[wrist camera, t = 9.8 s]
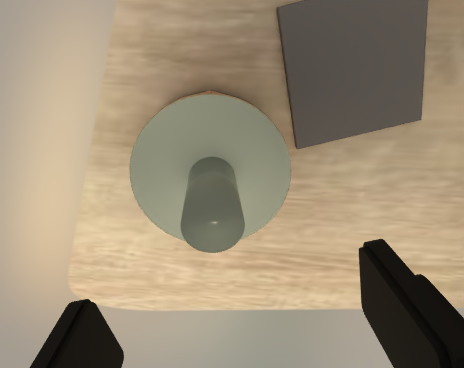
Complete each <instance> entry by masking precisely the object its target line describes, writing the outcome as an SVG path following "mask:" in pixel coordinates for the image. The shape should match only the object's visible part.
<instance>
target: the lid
mask: <svg viewBox="0 0 464 368" xmlns="http://www.w3.org/2000/svg"><path fill="white" fill-rule="evenodd" d="M290 180H291V161H290V156H289V152H288V149H287V146H286V143H285V141H284V139H283V137H282V135H281V134H280V132H279V131H278V129H277V128H276V127H275V125H274V124H273V123H272V122H271V121H270V119H269V118H268V117H267V116H266V115H265V114H264V113H263V112H261V111H260V110H259V109H257V108H256V107H255V106H253V105H251V104H249V103H248V102H246V101H244V100H241V99H238V98H236V97H233V96H228V95H224V94H215V93H208V94H197V95H191V96H188V97H185V98H182V99H179V100H177V101H175V102H173V103H171V104H169V105H168V106H166V107H165V108H163V109H162V110H160V111H159V112H158V113H157V114H156V115H155V116H154V117H153V118H152V119H151V120H150V121H149V122H148V124H147V125H146V126H145V127H144V128H143V130H142V131H141V133H140V135H139V136H138V138H137V140H136V143H135V145H134V147H133V151H132V155H131V159H130V181H131V186H132V190H133V193H134V196H135V198H136V200H137V202H138V204H139V206H140V207H141V209H142V210H143V212H144V213H145V215H146V216H147V217H148V218H149V219H150V220H151V221H152V222H153V223H154V224H155V225H156V226H157V227H159V228H160V229H162V230H163V231H165V232H166V233H168V234H170V235H172V236H174V237H176V238H178V239H181V240H183V241H186V242H187V243H188V244H189V245H190V246H192V247H193V248H195V249H197V250H199V251H203V252H208V253H216V252H222V251H225V250H227V249H229V248H231V247H233V246H234V245H235V244H236V243H237V242H238V241H239V240H240V239H242V238H245V237H247V236H249V235H251V234H253V233H255V232H256V231H258V230H259V229H261V228H262V227H263V226H264V225H266V224H267V223H268V222H269V221H270V220H271V219H272V218H273V217H274V215H275V214H276V213H277V212H278V210H279V209H280V207H281V206H282V204H283V202H284V200H285V198H286V195H287V192H288V189H289V185H290Z"/></svg>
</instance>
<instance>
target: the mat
mask: <svg viewBox="0 0 464 368" xmlns="http://www.w3.org/2000/svg"><path fill="white" fill-rule="evenodd" d="M427 9H428V0H304V1H301V2H297V3H293V4H289V5H285V6H281V7H278V8H277V13H278V20H279V27H280V35H281V42H282V49H283V57H284V64H285V71H286V79H287V86H288V93H289V100H290V108H291V115H292V122H293V130H294V137H295V144H296V148H297V149H300V148H304V147H309V146H313V145H317V144H321V143H325V142H330V141H334V140H338V139H342V138H346V137H351V136H355V135H359V134H363V133H367V132H372V131H376V130H380V129H384V128H388V127H393V126H397V125H401V124H405V123H409V122H414V121H418V120H421V117H422V99H423V81H424V63H425V45H426V27H427Z"/></svg>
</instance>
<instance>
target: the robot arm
mask: <svg viewBox="0 0 464 368" xmlns="http://www.w3.org/2000/svg"><path fill="white" fill-rule="evenodd" d="M359 264H360V283H361V303H362V309H363V312H364V314H365V316H366V318H367V320H368V322H369V323H370V325H371V327H372V329H373V331H374V333H375V334H376V336H377V338H378V340H379V342H380V344H381V345H382V347H383V349H384V351H385V352H386V354H387V356H388V358H389V360H390V362H391V363H392V365H393V367H394V368H464V318H463V317H462V316H461V315H460V314H459V313H458V311H457V310H456V309H455V308H454V307H453V306H452V305H451V304H450V303H449V302H448V301H447V299H446V298H445V297H444V296H443V295H442V294H441V293H440V292H439V291H438V290H437V289H436V287H435V286H434V285H433V284H432V283H431V282H430V281H429V280H428V279H427V278H426V277H425V276H423V275H421V274H419V275H414V274H413V272H412V271H411V270H410V269H409V268H408V267H407V266H406V264H405V263H404V262H403V261H402V260H401V259H400V258H399V256H398V255H397V254H396V253H395V252H394V251H393V250H392V248H391V247H390V246H389V245H388V244H387V243H386V242H385V241H384V240H383V239H378V240H373V241H368V242H365V243H364V244H363V247H361V248H359ZM123 360H124V354H123V350H122V348H121V346H120V345H119V343H118V341H117V340H116V338H115V336H114V334H113V333H112V331H111V329H110V328H109V326H108V324H107V323H106V321H105V319H104V317H103V316H102V314H101V312H100V311H99V309H98V307H97V305H96V304H95V303H94V302H91V301H90V300H89V299H84V300H79V301H74V302H71V303H69V304H68V305H67V307H66V309H65V310H64V312H63V313H62V315H61V317H60V318H59V320H58V322H57V323H56V325H55V327H54V328H53V330H52V332H51V333H50V335H49V337H48V338H47V340H46V342H45V343H44V345H43V347H42V348H41V350H40V352H39V353H38V355H37V357H36V358H35V360H34V361H33V363H32V365H31V366H30V368H121V367H122V364H123Z"/></svg>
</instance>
